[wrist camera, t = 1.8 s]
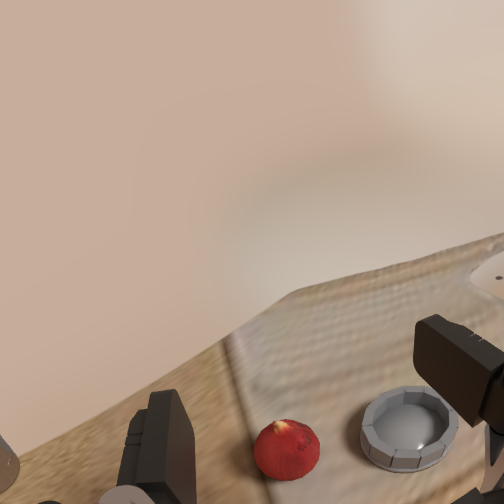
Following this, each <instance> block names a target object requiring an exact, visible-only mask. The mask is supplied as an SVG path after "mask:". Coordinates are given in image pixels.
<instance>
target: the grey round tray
mask: <svg viewBox="0 0 504 504" xmlns="http://www.w3.org/2000/svg"><path fill="white" fill-rule="evenodd" d="M458 427H459V423H458V413H457V412H456V411H455V410H454V409H453V408H452V407H451V406H450V405H449V404H448V403H447V402H446V401H445V400H444V399H443V398H442V397H441V396H440V395H439V394H438V393H437V392H436V391H435V390H434V389H432V388H430V387H427V386H426V387H425V386H404V388H403V386H401V387H398V388H396V389H393V390H390V391H387V392H384V393H382V394H380V395H379V396H378V397H377V398H376V399H375V400H374V401H373V402H372V403H371V404H370V405H368V406H367V408H366V411H365V414H364V418H363V422H362V427H361V432H360V444H361V448H362V450H363V452H364V454H365V456H366V457H367V458H368V459H369V460H370V461H371V462H372V463H373V464H375V465H376V466H378V467H380V468H382V469H384V470H387V471H390V472H395V473H413V472H418V471H422V470H424V469H427V468H429V467H431V466H433V465H435V464H436V463H438V462H439V461H440V460H441V459H442V458H444V457H445V455H446V454H447V453H448V451H449V450H450V448H451V446H452V444H453V441H454V438H455V435H456V433H457V430H458Z"/></svg>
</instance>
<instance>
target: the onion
mask: <svg viewBox="0 0 504 504" xmlns="http://www.w3.org/2000/svg"><path fill="white" fill-rule="evenodd" d="M319 455H320V443H319V440H318V438H317V437H316V435H315V434H314V432H313V431H312V429H311V428H310V427H309V426H307V425H305V424H302V423H299V422H297V421H294V420H287V419H284V420H279V421H278V420H277V421H273V423H271V424H269V425H268V426H267V427H266V428H264V429H263V430H262V431H261V432H260V434H259V436H258V437H257V439H256V441H255V444H254V458H255V460H256V463H257V465H258V467H259V468H260V470H261V471H262V472H264V473H265V474H266V475H267V476H268V477H271V478H274V479H277V480H280V481H292V480H296V479H299V478H302V477H303V476H305V475H306V474H307V473H309V472H310V471H311V470H312V469H313V468H314V467H315V465H316V463H317V461H318V460H319Z"/></svg>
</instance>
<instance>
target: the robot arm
mask: <svg viewBox="0 0 504 504" xmlns="http://www.w3.org/2000/svg"><path fill="white" fill-rule="evenodd" d="M413 363H414V367H415V369H416V371H417V373H418V374H419V375H420V376H421V377H422V378H423V379H424V380H425V381H426V382H427V383H428V384H429V385H430V386H431V387H432V388H433V389H434V390H435V391H436V392H437V393H438V394H439V395H440V396H441V397H442V398H443V399H444V400H445V401H446V402H447V403H448V404H449V405H450V406H451V407H452V408H453V409H454V410H455V411H456V412H457V413H458V414H459V415H460V416H461V417H462V418H463V419H464V420H465V421H466V422H467V423H468V424H469V425H470V426H471V427H472V428H473V427H475V426H476V425H478V424H479V423H480V422H482V421H483V420H484V421H486V422H487V424H486V427H485V475H484V479H483V482H482V485H481V488H480V491H478V489H477V488H476V487H475V488H474V489H472V490H471V491H469V492H468V493H466V494H465V495H464V496H462V497H461V498H459V499H457V500H456V501H454V502H453V503H451V504H504V352H503V351H501V350H500V349H498V348H497V347H495V346H494V345H492V344H491V343H489V342H488V341H486V340H485V339H482V337H480V336H479V335H477V334H474V332H472V331H471V330H469V329H468V328H466V327H465V326H462V325H459V324H456V323H452V322H449V321H447V320H446V319H444V318H443V317H441V316H440V315H438V314H434V315H432V316H430V317H427V318H425V319H422V320H420V321H418V322H417V323H416V326H415V338H414V352H413ZM127 435H128V437H126V442H125V447H124V451H123V456H122V460H121V465H120V470H119V475H118V480H117V485H116V487H114V488H112V489H110V490H108V491H107V492H106V493H105V494H104V495H103V496H102V497H101V498H100V500H99V502H98V504H197V499H196V470H195V437H194V432H193V428H192V425H191V422H190V420H189V418H188V415H187V413H186V411H185V409H184V406H183V404H182V402H181V399H180V397H179V395H178V393H177V391H176V390H175V389H170V390H164V391H157V392H152V393H151V394H150V398H149V403H148V408H147V409H142V410H138V412H137V413H136V414H135V416H134V417H133V418H132V420H131V421H130V424H129V429H128V433H127ZM18 471H19V460H18V457H17V456H16V454H15V453H14V452H13V451H12V449H11V448H10V446H9V445H8V444H7V443H6V442H5V440H4V439H3V438H2V437H1V435H0V492H3V491H4V490H6V489H7V488H8V487H9V486H10V485H11V484H12V483H13V482H14V480H15V479H16V477H17V474H18ZM39 504H61V503H59V502H56V501H44V502H41V503H39Z"/></svg>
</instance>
